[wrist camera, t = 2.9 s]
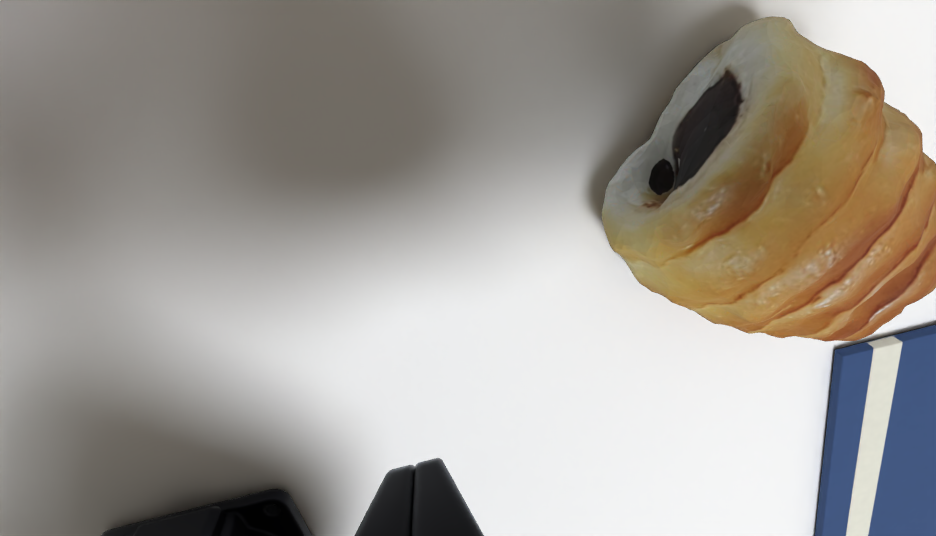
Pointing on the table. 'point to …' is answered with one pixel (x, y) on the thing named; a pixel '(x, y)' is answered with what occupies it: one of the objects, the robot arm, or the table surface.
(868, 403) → the napkin
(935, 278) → the pastry
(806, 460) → the table surface
